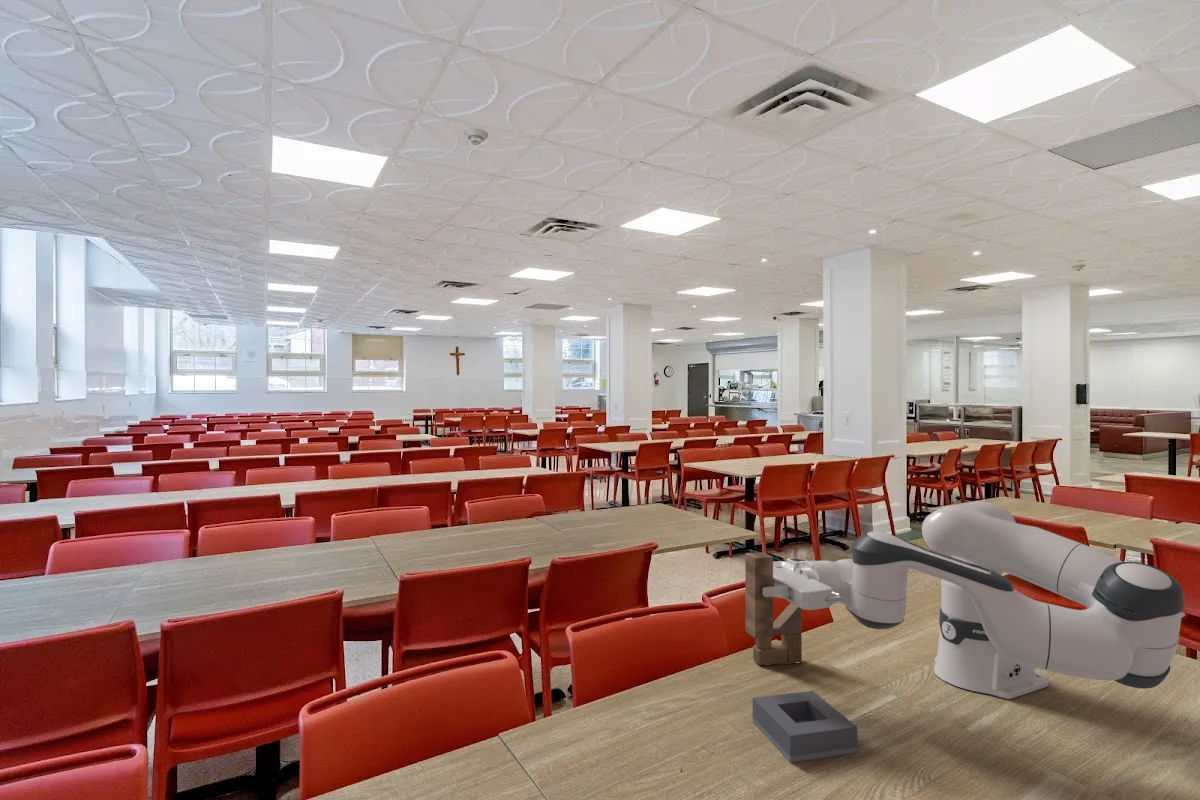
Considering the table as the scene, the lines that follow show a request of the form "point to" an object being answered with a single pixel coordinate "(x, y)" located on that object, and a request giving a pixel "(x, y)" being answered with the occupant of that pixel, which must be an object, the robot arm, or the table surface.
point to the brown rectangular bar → (758, 595)
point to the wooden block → (782, 639)
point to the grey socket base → (804, 726)
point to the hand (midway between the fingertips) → (755, 587)
